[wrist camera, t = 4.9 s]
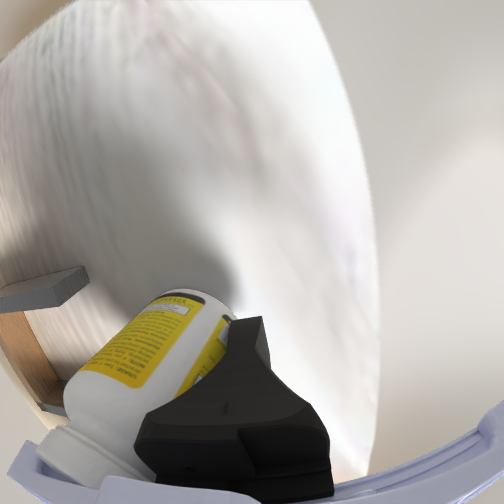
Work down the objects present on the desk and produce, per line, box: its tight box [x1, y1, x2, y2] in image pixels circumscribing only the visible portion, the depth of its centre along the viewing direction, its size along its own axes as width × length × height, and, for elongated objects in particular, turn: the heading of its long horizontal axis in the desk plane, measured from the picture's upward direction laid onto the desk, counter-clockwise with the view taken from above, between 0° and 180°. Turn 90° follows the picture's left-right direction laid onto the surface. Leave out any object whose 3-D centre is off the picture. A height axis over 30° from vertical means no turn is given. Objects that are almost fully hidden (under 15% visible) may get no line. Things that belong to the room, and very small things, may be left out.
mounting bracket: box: [0, 266, 90, 417], centre depth 13 cm, size 9×9×3 cm
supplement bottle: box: [36, 289, 238, 490], centre depth 9 cm, size 5×5×10 cm
